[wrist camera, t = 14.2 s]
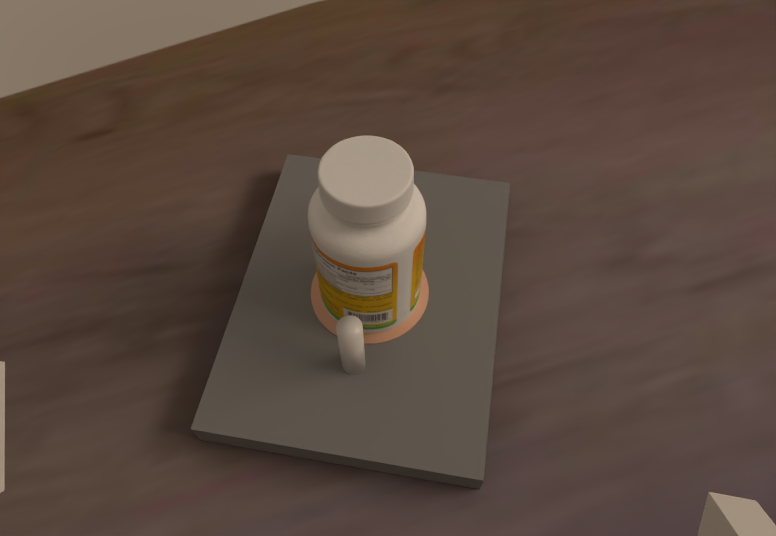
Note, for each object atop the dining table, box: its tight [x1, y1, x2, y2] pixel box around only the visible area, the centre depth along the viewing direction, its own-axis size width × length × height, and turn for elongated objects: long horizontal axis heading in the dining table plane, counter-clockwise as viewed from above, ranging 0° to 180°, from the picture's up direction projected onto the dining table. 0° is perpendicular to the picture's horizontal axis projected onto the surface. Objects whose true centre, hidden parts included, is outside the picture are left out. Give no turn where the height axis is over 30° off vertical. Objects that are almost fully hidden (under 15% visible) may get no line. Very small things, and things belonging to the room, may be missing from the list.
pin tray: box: [191, 154, 510, 489], centre depth 33 cm, size 14×18×6 cm
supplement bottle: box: [308, 136, 426, 333], centre depth 30 cm, size 5×5×10 cm
